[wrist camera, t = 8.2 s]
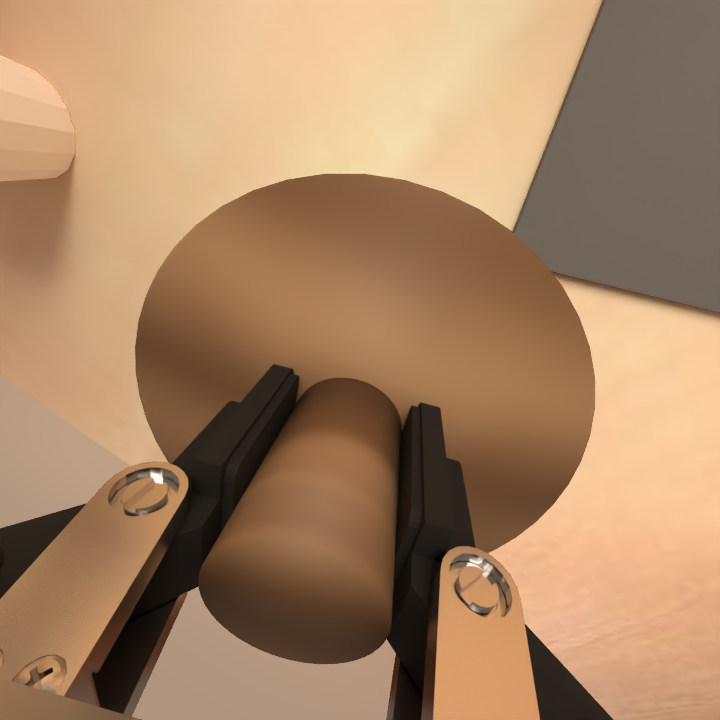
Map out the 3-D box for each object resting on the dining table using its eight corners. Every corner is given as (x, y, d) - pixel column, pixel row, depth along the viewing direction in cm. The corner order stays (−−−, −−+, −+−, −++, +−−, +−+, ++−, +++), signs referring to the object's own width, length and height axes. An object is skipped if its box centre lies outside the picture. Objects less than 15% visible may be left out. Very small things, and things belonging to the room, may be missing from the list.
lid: (144, 122, 8) (-334, -14, 3) (683, 245, 8) (1256, 343, 3) (166, 498, 14) (13, 683, 9) (481, 584, 14) (525, 838, 8)
